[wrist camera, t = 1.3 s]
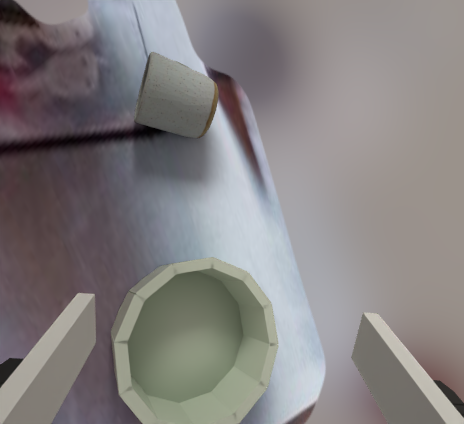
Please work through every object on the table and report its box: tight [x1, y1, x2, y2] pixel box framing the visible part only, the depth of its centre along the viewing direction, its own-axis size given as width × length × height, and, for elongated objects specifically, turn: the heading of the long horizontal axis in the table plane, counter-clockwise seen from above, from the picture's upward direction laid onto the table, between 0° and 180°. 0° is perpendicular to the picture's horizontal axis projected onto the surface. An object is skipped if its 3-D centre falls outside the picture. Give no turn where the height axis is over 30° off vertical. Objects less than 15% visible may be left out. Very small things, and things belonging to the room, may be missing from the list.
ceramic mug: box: [134, 52, 218, 138], centre depth 35 cm, size 11×8×8 cm
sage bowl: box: [111, 257, 278, 424], centre depth 31 cm, size 15×15×7 cm
